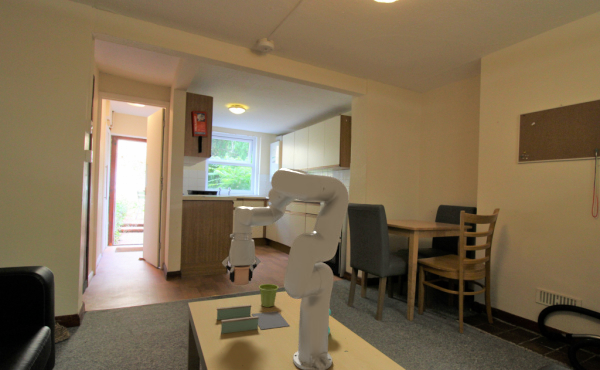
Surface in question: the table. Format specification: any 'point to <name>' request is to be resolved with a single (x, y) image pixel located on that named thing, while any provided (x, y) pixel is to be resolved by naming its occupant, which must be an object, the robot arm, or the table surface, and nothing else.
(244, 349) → the table surface
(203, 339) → the table surface
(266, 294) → the plant pot
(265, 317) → the mat
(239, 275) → the seedling pot
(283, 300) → the table surface
